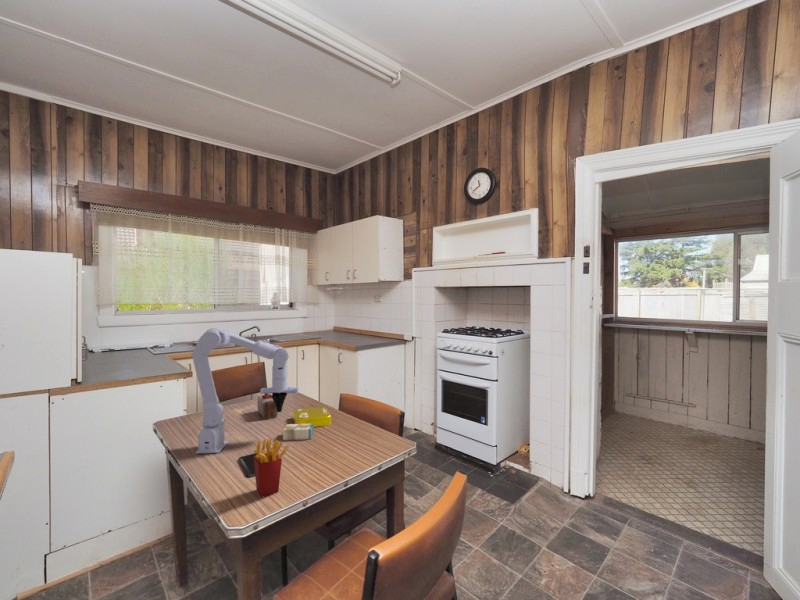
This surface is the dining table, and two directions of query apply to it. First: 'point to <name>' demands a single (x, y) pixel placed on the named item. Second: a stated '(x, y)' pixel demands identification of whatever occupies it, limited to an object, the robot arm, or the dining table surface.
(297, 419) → the yellow flat box
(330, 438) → the dining table surface
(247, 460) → the phone
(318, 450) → the dining table surface
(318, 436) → the dining table surface
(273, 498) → the dining table surface
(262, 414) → the food item
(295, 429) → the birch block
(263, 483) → the french fries
